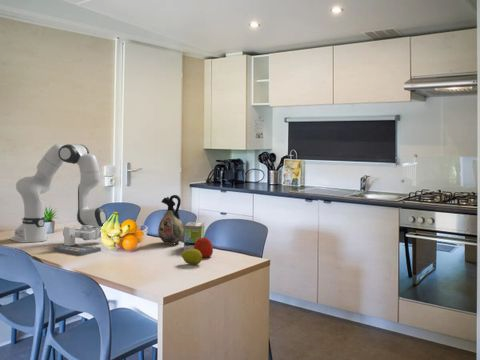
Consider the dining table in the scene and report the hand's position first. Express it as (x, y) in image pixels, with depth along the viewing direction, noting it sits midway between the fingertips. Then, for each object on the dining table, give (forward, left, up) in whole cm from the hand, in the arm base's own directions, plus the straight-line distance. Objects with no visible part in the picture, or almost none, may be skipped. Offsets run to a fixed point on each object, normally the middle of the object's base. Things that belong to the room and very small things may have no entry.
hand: (68, 235), depth 250 cm
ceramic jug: (+36, +47, -8) cm, 60 cm away
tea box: (+56, +41, -8) cm, 70 cm away
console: (+6, +1, -8) cm, 10 cm away
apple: (+71, +27, -8) cm, 76 cm away
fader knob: (0, +1, -6) cm, 6 cm away
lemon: (+76, +9, -8) cm, 77 cm away
